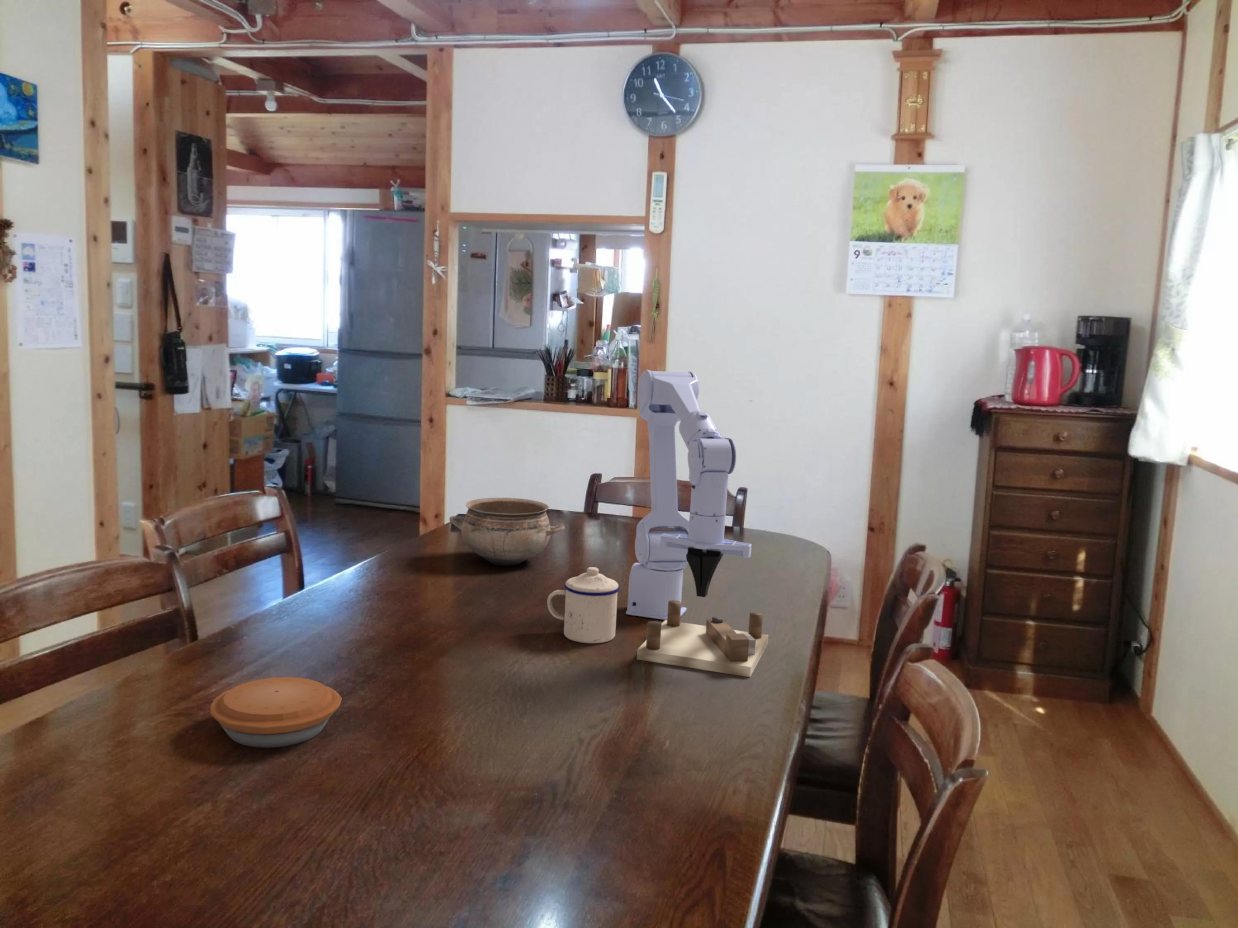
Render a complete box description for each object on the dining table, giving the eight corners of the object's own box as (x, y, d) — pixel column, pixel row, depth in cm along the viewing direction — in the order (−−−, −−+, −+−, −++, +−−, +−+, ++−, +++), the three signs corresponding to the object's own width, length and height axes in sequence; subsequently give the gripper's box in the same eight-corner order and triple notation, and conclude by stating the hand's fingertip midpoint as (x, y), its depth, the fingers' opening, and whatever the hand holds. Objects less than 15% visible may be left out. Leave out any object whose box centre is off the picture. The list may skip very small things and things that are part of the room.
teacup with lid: (620, 630, 172) (624, 564, 171) (611, 647, 163) (615, 577, 162) (552, 623, 174) (555, 557, 173) (539, 639, 165) (542, 570, 164)
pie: (266, 768, 115) (266, 726, 115) (183, 732, 124) (182, 694, 123) (366, 725, 128) (367, 688, 128) (285, 696, 137) (285, 661, 136)
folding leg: (705, 632, 168) (707, 612, 168) (721, 632, 169) (723, 612, 168) (730, 661, 155) (731, 639, 154) (747, 660, 155) (749, 639, 155)
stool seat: (636, 659, 158) (638, 624, 157) (664, 628, 174) (666, 597, 174) (750, 676, 153) (752, 641, 152) (767, 644, 169) (770, 611, 168)
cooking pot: (571, 556, 222) (573, 502, 220) (553, 577, 204) (556, 518, 202) (461, 546, 226) (463, 493, 224) (434, 567, 207) (436, 508, 205)
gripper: (657, 512, 159) (652, 595, 161) (748, 522, 155) (741, 607, 157) (668, 504, 166) (663, 584, 168) (756, 514, 161) (749, 596, 163)
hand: (702, 595), depth 163 cm, fingers closed
